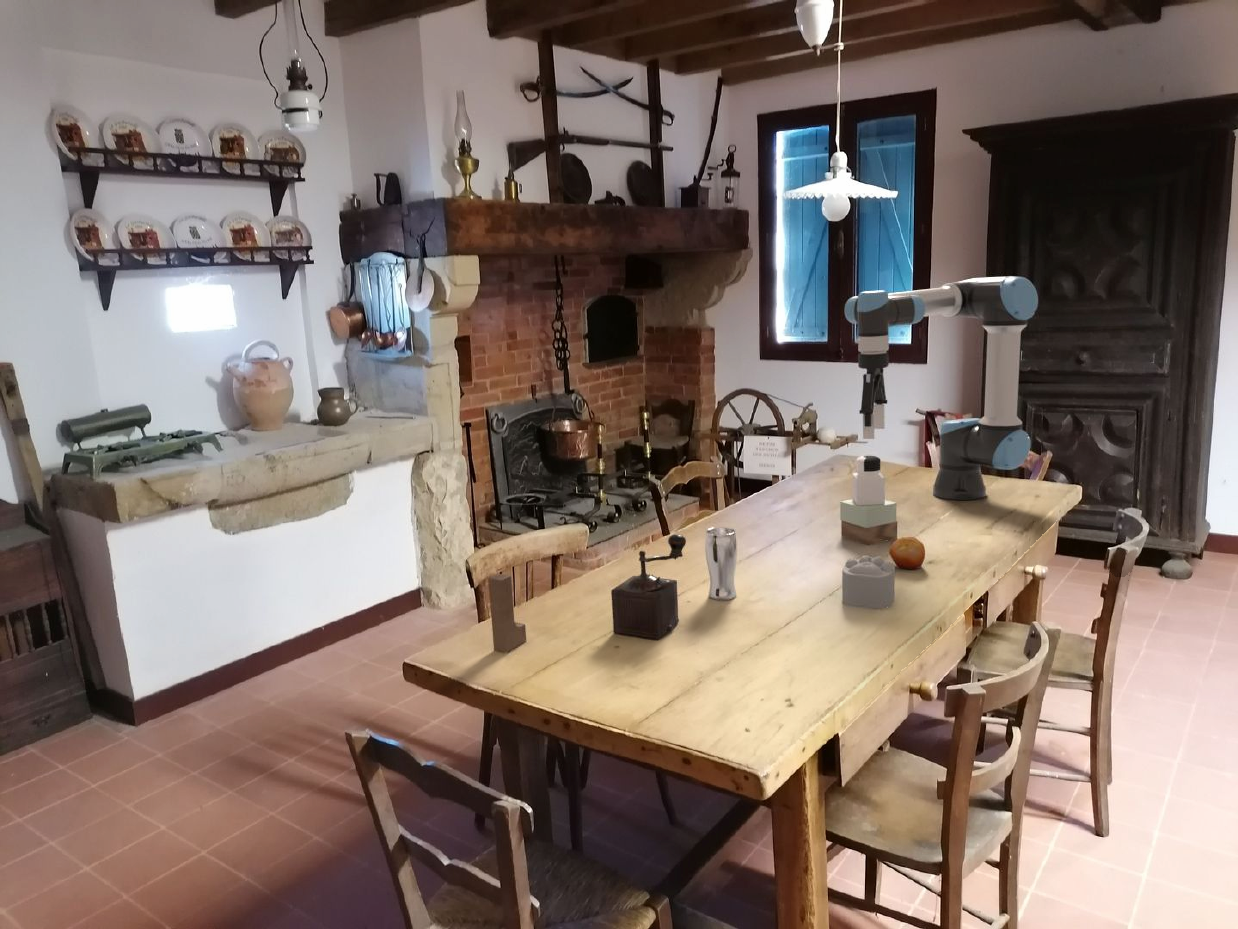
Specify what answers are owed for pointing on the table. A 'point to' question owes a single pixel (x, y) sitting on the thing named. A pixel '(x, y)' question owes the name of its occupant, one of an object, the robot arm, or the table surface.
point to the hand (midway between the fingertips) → (874, 433)
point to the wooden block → (504, 615)
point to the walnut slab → (869, 532)
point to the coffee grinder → (647, 600)
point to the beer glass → (721, 561)
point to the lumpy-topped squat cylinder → (868, 583)
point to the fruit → (907, 553)
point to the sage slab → (867, 513)
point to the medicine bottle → (868, 482)
